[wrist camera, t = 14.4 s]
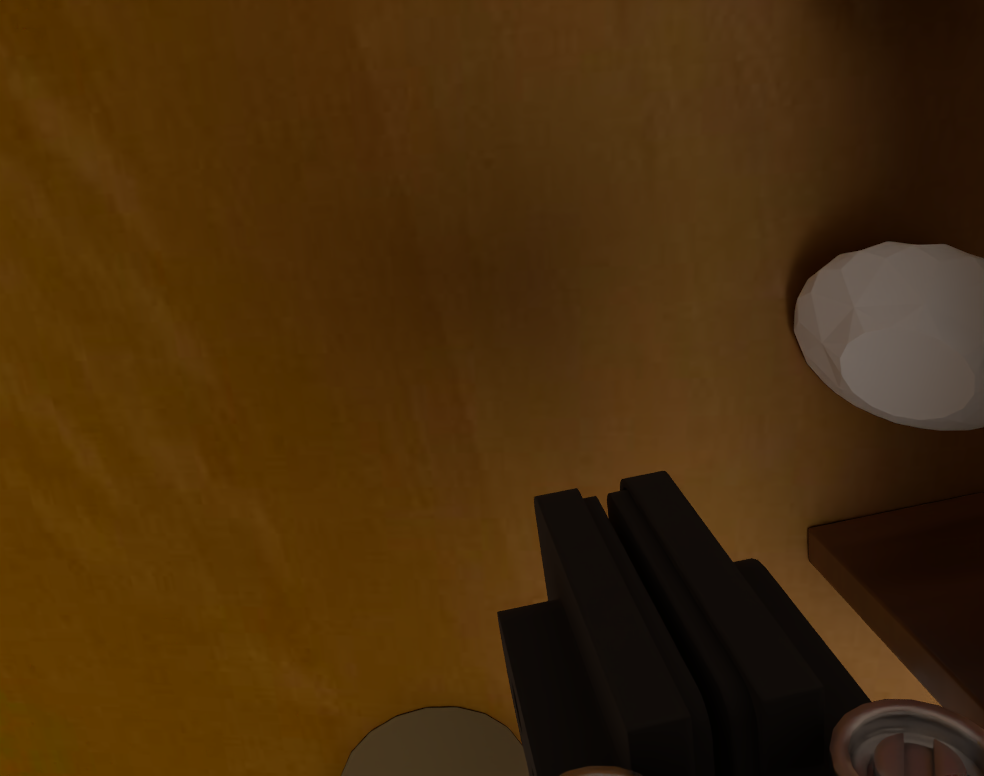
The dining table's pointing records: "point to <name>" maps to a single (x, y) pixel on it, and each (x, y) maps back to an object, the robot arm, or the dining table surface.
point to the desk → (918, 590)
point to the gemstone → (899, 333)
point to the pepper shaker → (439, 746)
